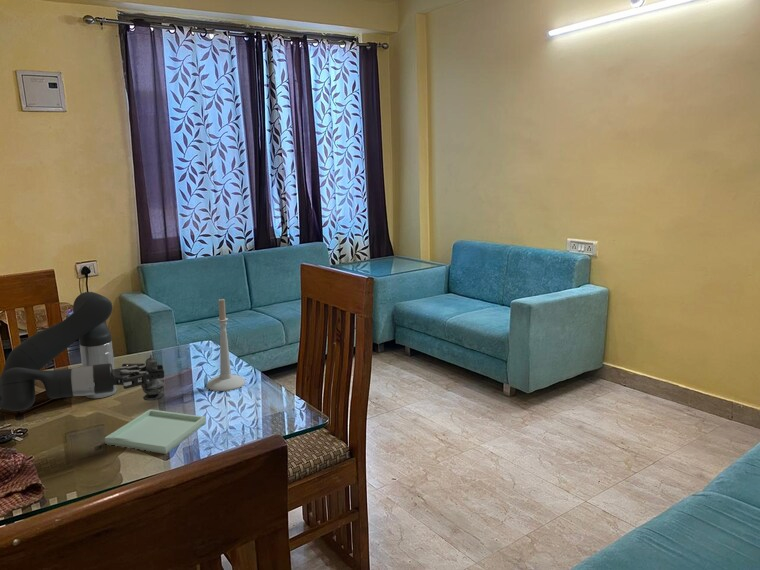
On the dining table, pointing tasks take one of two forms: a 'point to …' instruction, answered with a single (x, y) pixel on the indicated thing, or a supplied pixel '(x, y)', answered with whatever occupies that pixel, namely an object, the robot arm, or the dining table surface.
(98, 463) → the dining table surface
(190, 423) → the tray
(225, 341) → the candlestick
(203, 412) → the dining table surface
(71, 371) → the robot arm
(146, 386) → the dark grey chess piece
